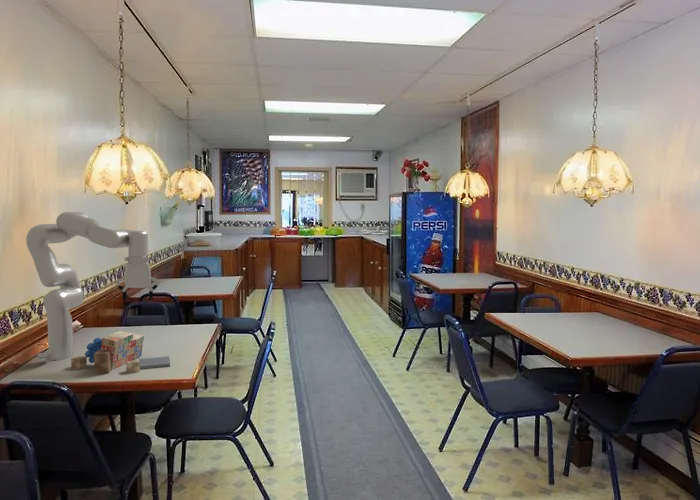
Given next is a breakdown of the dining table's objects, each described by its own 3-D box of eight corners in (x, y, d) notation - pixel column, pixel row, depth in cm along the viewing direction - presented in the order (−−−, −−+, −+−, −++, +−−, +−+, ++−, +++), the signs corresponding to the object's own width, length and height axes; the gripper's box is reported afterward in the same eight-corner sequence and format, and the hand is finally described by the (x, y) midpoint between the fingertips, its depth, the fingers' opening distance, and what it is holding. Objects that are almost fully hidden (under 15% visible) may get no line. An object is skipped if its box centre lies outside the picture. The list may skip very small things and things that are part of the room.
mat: (138, 369, 218) (138, 366, 218) (139, 361, 229) (139, 358, 229) (170, 366, 222) (169, 363, 222) (169, 359, 233) (169, 356, 233)
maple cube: (129, 373, 212) (128, 363, 212) (126, 371, 216) (126, 361, 215) (139, 371, 215) (139, 361, 214) (136, 369, 218) (136, 359, 218)
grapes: (115, 361, 230) (119, 334, 229) (113, 367, 224) (117, 339, 223) (85, 359, 226) (89, 331, 225) (82, 364, 220) (86, 336, 219)
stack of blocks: (128, 352, 239) (132, 326, 238) (141, 356, 238) (145, 329, 237) (97, 366, 218) (102, 336, 217) (111, 370, 217) (116, 340, 216)
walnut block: (94, 374, 211) (93, 354, 211) (98, 370, 216) (97, 350, 215) (108, 373, 212) (107, 353, 212) (111, 369, 217) (110, 350, 216)
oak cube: (71, 368, 220) (71, 358, 219) (78, 365, 223) (78, 356, 223) (79, 369, 219) (79, 359, 218) (86, 366, 222) (86, 356, 222)
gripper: (114, 261, 221) (114, 302, 222) (159, 261, 227) (159, 301, 228) (116, 259, 228) (116, 299, 229) (159, 259, 234) (159, 298, 235)
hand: (137, 300), depth 228 cm, fingers open, 9 cm apart
